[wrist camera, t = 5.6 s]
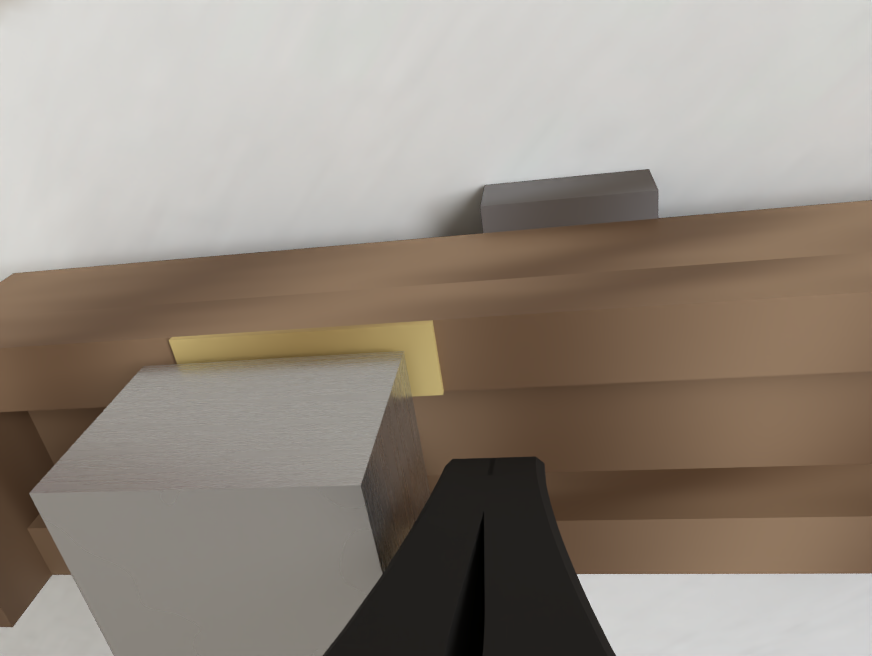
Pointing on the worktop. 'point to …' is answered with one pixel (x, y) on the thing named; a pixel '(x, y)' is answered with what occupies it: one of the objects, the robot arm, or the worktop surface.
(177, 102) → the worktop surface
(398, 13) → the worktop surface
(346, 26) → the worktop surface
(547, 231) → the beam
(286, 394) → the block
